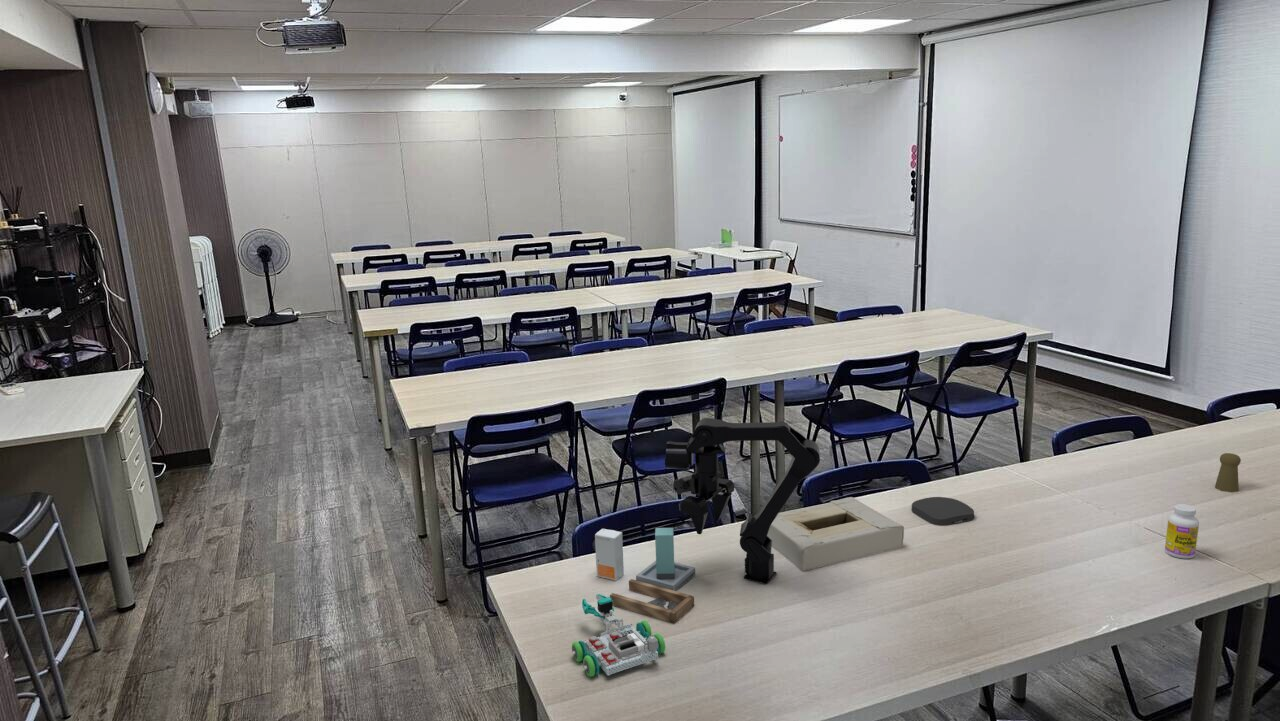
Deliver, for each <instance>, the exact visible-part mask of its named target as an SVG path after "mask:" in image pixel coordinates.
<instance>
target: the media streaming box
mask: <svg viewBox="0 0 1280 721" xmlns="http://www.w3.org/2000/svg"><path fill="white" fill-rule="evenodd" d="M911 513H913V514H914V515H916V516H918V517H919V518H921V519H923V520H924V521H926V522H927V523H930V524H932V525H936V526H949V525H957V524H963V523H965V522H966V523H967V522H971V521H973V520H974V519H975V511H974V509H973V508H972V507H971V506H969V505H968V504H966V503H965V502H963V501H961V500H958V499H956V498H953V497H945V496H932V497H931V496H930V497H924V498H921V499H918V500H917V499H916V500H915V501H913V502H912V503H911Z"/></svg>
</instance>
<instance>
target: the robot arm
mask: <svg viewBox="0 0 1280 721" xmlns="http://www.w3.org/2000/svg"><path fill="white" fill-rule="evenodd" d="M740 441H741V442H743V441H744V442H745V441H746V442H747V441H748V442H751V441H754V442H755V441H756V442H757V441H758V442H759V441H761V442H763V441H767V442H768V441H778V442H779V443H780V444H781V445H782V447H784V448H785V449H786V451H787V452H788V453H789V454H790V455H791V460H790V463H789V464H788V467H787V470H785V473H784V474H783V476H782V477H781V478H780V480H779V482H778V483H777V485H776V486H775V487H774V489H773V491H772V492H771V493H770V495H769V497H768V498H767V500H766V501H765V503H764V504H763V505H762V507H761V509H760V510H759V512H758V513H756V514H755V515H754V516H753V515H752V514H751V513H748V515H747V518H746V519H745V521H744V522H742V523H741V525H740V530H739V531H740V532H739V536H740V538H739V546H740V547H741V549H742V551H744V552H746V553H745V554H746V555H745V556H746V557H745V558H744V573H745V574H744V575H743V579H744V580H748V581H752V582H756V583H759V584H764V585H767V584H768V583H770V582H771V580H773V578H774V577H775V576H777V572H776V571H775V563H774V562H775V557H774V556H775V554H774V553H772V548H773V547H772V540H771V539H770V538H769V537H768V536H767V534H768V531H769V528H770V526H771V524H772V522H773V521H774V519H775V518H776V516H777V515H778V513H781V511H782V509H783V508H784V506H785V504H787V501H788V500H789V498H791V496H792V494H793V493H794V491H795V490H796V488H797V487H798V486H799V484H800V482H801V481H803V479H805V478H806V477H808V476H809V475H810V474H812V472H813V471H814V470H815V469H816V468H817V467H818V466H819V464H820V461H821V454H820V447H819V445H818V443H817V442H816V441H814V440H811V439H808V438H806V437H805V436H804V435H803V434H802V433H800V432H799V431H797V430H796V429H795V428H793V427H792V426H791V425H790V424H789V423H787V421H781V420H779V421H777V422H773V421H771V422H727V421H725V420H722V419H717V418H711V417H705V418H701V419H700V420H699V421H698V422H697V424H696V426H695V429H694V431H693V434H692V436H691V437H690V438H689V440H688V442H684V441H683V442H681V441H680V442H677V441H667V442H666V449H665V457H664V468H665V469H667V470H669V469H670V470H671V469H674V470H689V469H690V466H693V465H694V464H695V472H694V473H691V475H687V476H683V477H681V478H676V479H675V480H673V484H672V485H673V486H672V489H673V490H674V491H675V493H677V494H678V495H682V494H684V493H688V492H689V493H690V494H691V495H687V496H686V497H685V498H684V499H682V500H681V501H679V504H678V507H679V511H680V512H682V513H684V514H687V515H688V516H689V517H690V519H691V522H692V523H693V526H694V530H695V532H696V534H697V535H702V533H703V530H704V528H705V525H706V520H707V517H708V513H709V510H708V508H709V504H708V501H711V504H712V513H713V514H712V515H713V518H714V519H713V520H714V521H715V522H719V521H720V519H721V518H722V517H721V516H722V514H723V512H724V510H725V508H726V506H727V504H728V502H729V500H730V498H731V497H732V493H733V492H734V491H735V483H734V482H733V481H732V480H731V479H726V478H722V473H723V472H722V471H721V470H719V455H724V454H726V450H727V449H726V447H725V446H724V445H723V444H725V443H728V442H740ZM694 454H695V455H694ZM694 458H695V459H694ZM694 460H695V462H694ZM692 495H697V496H692Z"/></svg>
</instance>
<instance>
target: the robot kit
mask: <svg viewBox="0 0 1280 721" xmlns="http://www.w3.org/2000/svg"><path fill="white" fill-rule="evenodd" d="M595 598H596V600H597V601H596V602H597V603H596V604H597V606H595V607H594V606H592V605H591V604H590V603H587V599H586V598H582V600H581V601H582V602H581V603H582V604H581V605H582V606H581V607H582V609H583V613H584V615H588V614H589V615H590V614H591V615H593V616H594V617H596V618H599V619H600V620H601V622H602V623H603V625H605V630H604V632H601V633H600V636H598V637H597V636H595V635H592V636H591V637H590V638H588V640H587V639H584V640H579V641H574V642H573V641H572V642H573V643H572V644H571V652H572V655H573V658H574V660H575V661H576V662H577V663H581V662H583V663H582V664H583V667H584V672H585V673H586V675H587V676H588V677H590V678H593V677H594V676H597V675H599V673H600V668H601V669H602V670H603V672H604V673H605V674H606V675H607V676H611V675H612V674H613V675H614V674H616V673H619V672H622V671H625V670H628V669H631V668H633V667H637V666H641V665H643V664H646V663H649V662H652V661H655V660H658V659H659V654H661V655H662V654H663V653H665V651H666V643H665V640H664V637H663V636H662V634H660V633H659V632H656V633H654V635H652V627H651V626H650V624H649V622H648V621H646V620H645V619H644V620H641V621H640V622H637V623H636V625H635V627H634V626H633V623H629V624H626V625H624V619H623V618H616V617H615V616H614V614H613V613H614V612H615V608H614V607H613V598H612V599H611V598H610V596H609V597H608V596H605V595H603V594H599V593H597V594H596V596H595ZM613 624H614V625H615V626H617V628H613V629H611V627H612V626H611V625H613Z"/></svg>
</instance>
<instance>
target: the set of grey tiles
mask: <svg viewBox="0 0 1280 721" xmlns="http://www.w3.org/2000/svg"><path fill="white" fill-rule="evenodd" d="M666 602H667V601H666V600H664V599H663V598H661V597H660V598H655V599H652V600H650V601H647V603H649V604H652V605H656V606H659V607H663V608H666V609H669V610H673V609H674V608H675V607H676V606H677V605H679V604H680V603H676V602H669V601H668V604H667V603H666ZM666 604H667V607H665V605H666Z"/></svg>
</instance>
